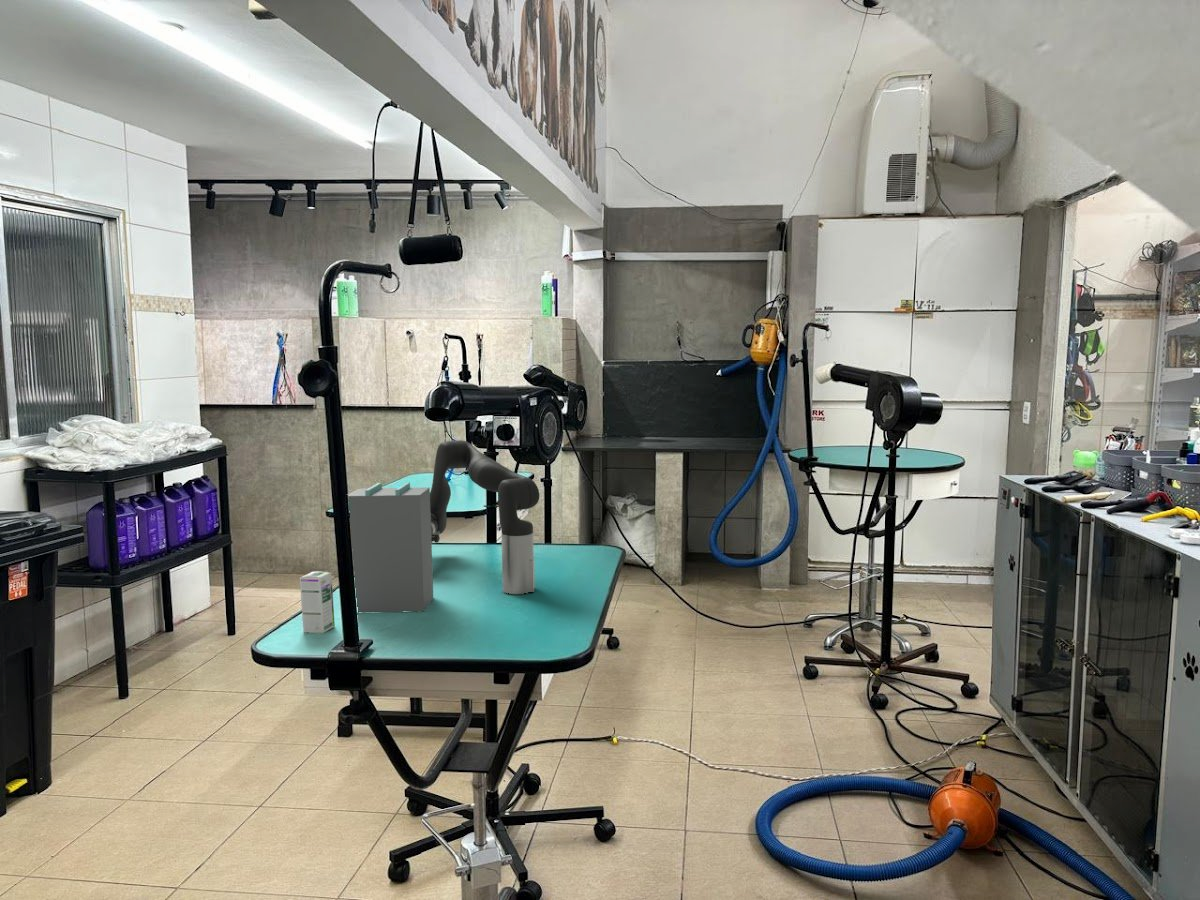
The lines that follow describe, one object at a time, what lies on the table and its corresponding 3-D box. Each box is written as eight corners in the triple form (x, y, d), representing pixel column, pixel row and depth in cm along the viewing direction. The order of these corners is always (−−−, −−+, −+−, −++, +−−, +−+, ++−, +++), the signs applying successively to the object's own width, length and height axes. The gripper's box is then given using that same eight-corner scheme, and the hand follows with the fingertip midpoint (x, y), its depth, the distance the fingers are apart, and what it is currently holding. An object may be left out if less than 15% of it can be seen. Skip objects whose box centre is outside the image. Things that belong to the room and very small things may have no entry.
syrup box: (323, 633, 212) (320, 577, 210) (302, 632, 213) (299, 576, 211) (335, 626, 217) (332, 571, 216) (314, 625, 218) (311, 570, 217)
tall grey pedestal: (433, 597, 243) (429, 482, 240) (424, 611, 229) (419, 489, 226) (363, 598, 243) (358, 483, 240) (349, 613, 229) (344, 490, 226)
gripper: (400, 520, 280) (389, 530, 264) (443, 520, 280) (435, 529, 264) (401, 542, 281) (390, 554, 265) (444, 542, 281) (435, 553, 265)
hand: (412, 542), depth 264 cm, fingers open, 8 cm apart
